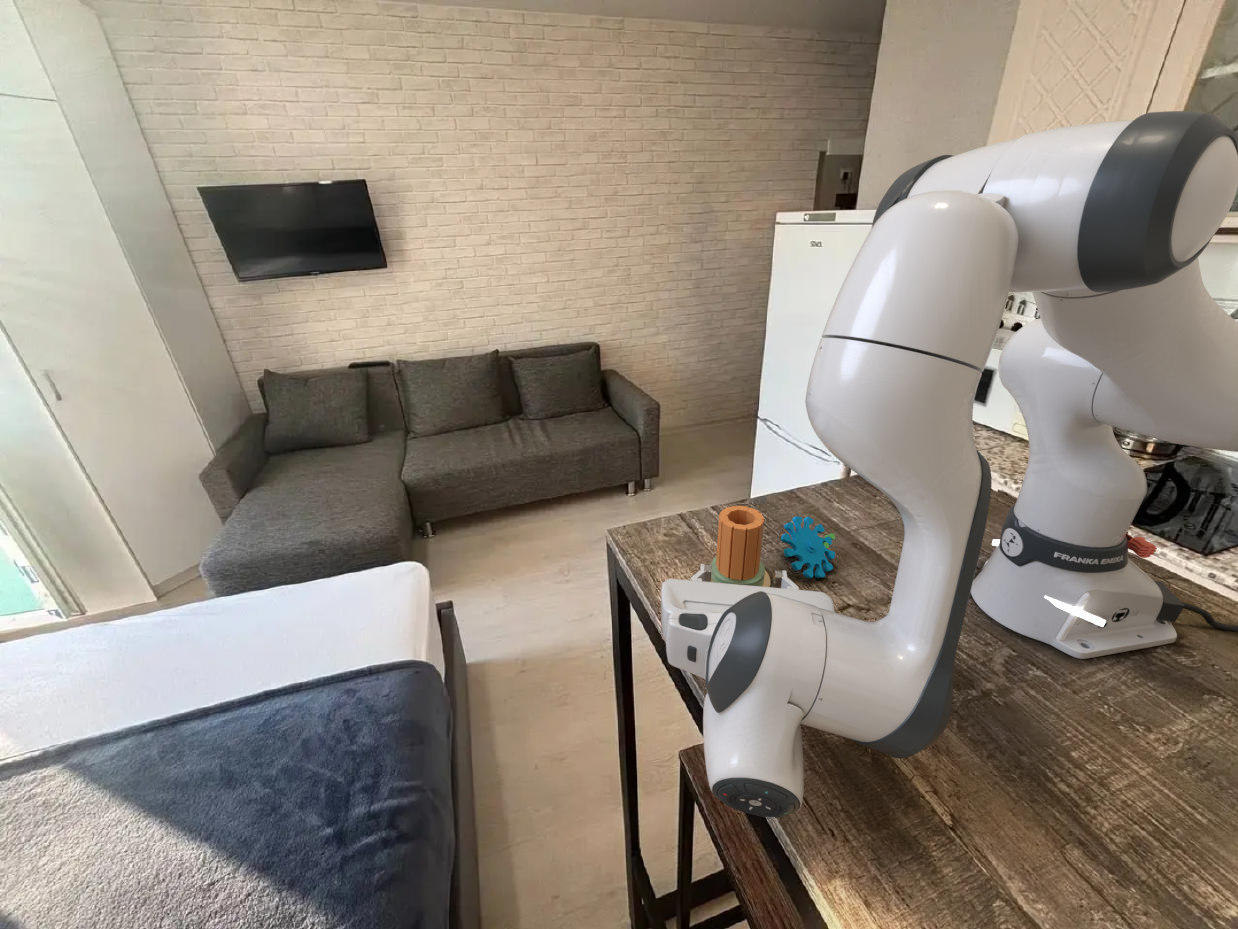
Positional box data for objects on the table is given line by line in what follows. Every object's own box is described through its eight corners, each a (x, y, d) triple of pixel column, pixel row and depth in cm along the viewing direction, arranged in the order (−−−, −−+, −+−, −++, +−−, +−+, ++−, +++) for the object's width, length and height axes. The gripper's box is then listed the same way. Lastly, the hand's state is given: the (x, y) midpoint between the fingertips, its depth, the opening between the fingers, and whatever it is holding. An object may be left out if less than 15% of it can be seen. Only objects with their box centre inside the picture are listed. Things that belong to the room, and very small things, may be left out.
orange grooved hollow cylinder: (764, 562, 78) (770, 512, 74) (749, 585, 73) (754, 534, 69) (726, 549, 81) (730, 501, 77) (709, 571, 77) (712, 521, 73)
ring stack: (761, 561, 83) (767, 509, 78) (777, 604, 74) (784, 548, 70) (700, 562, 83) (702, 510, 79) (708, 605, 75) (711, 549, 70)
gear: (802, 584, 75) (777, 520, 78) (776, 591, 80) (753, 530, 83) (851, 568, 80) (826, 508, 83) (824, 575, 85) (801, 519, 88)
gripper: (854, 641, 52) (829, 558, 64) (654, 620, 55) (666, 545, 67) (844, 684, 55) (821, 597, 67) (654, 662, 58) (665, 583, 70)
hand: (742, 571), depth 67 cm, fingers open, 8 cm apart
